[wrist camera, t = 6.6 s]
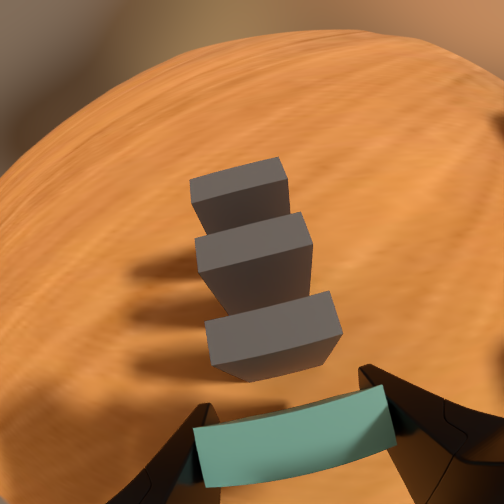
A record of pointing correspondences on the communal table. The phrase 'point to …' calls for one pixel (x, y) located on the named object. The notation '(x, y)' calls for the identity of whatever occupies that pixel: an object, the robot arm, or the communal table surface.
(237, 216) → the domino end
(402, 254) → the communal table surface
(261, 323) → the domino
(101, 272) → the communal table surface
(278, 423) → the domino
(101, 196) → the communal table surface
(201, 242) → the domino
